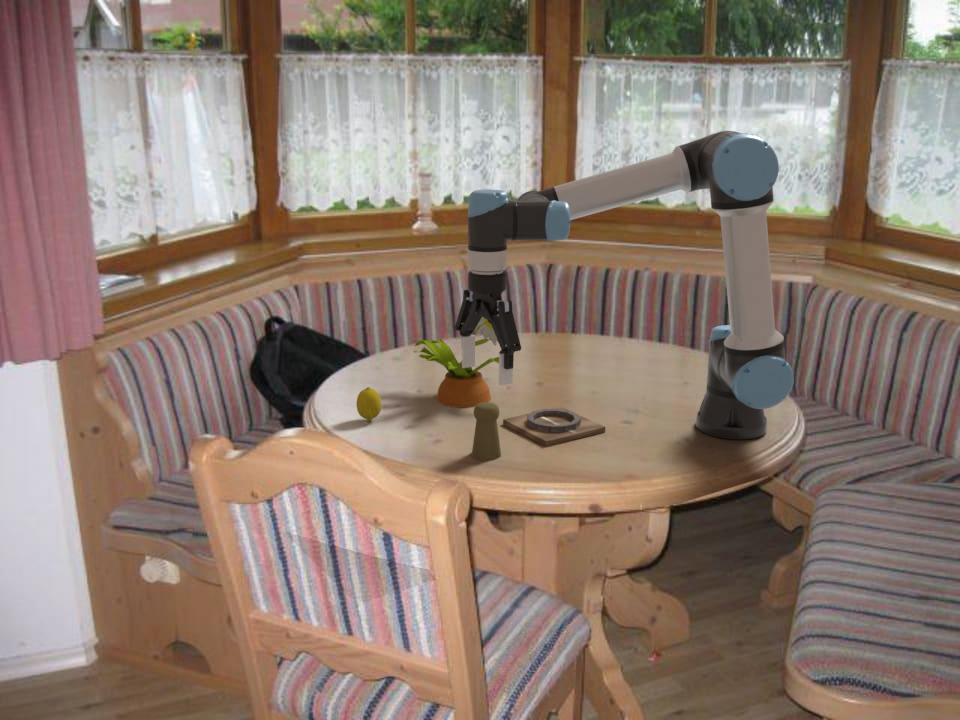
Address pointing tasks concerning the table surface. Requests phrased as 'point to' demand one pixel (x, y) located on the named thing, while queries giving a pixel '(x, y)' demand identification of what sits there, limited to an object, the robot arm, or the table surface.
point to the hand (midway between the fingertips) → (486, 375)
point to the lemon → (368, 403)
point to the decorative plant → (460, 371)
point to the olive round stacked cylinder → (486, 432)
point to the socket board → (553, 426)
